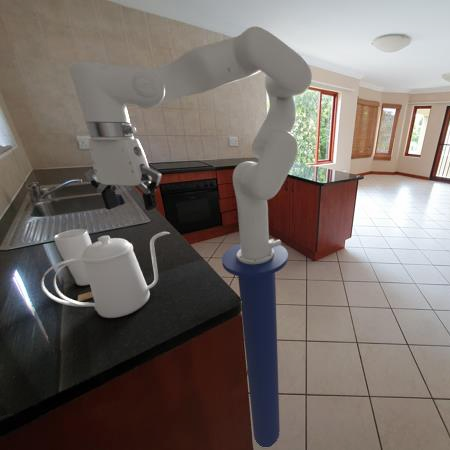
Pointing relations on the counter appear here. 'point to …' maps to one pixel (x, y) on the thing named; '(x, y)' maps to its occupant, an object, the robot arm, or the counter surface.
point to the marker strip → (85, 296)
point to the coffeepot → (111, 277)
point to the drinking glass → (74, 252)
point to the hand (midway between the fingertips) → (132, 208)
